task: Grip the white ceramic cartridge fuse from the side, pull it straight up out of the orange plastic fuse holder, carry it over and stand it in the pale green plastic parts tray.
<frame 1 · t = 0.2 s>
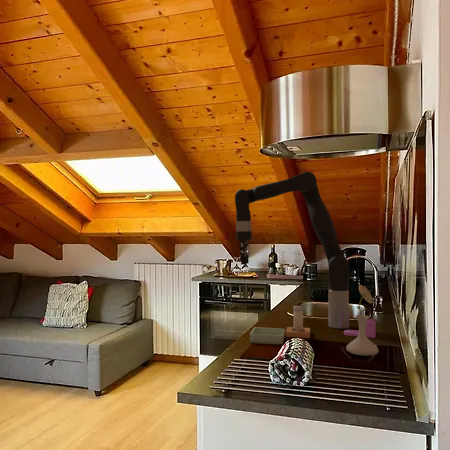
hand: (244, 264, 220), 28 cm above the table, tool pointing down, fingers open, 8 cm apart
blown fuse: (298, 320, 196), in the fuse holder
flower in vase: (361, 353, 167), on the table
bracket: (359, 335, 196), on the table
fuse holder: (298, 334, 196), on the table
parts tray: (267, 339, 186), on the table
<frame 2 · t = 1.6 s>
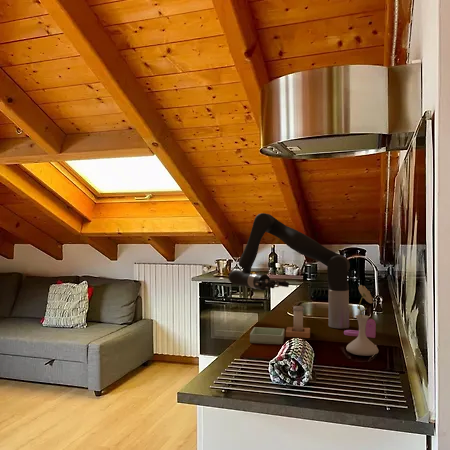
hand: (281, 285, 205), 20 cm above the table, tool horizontal, fingers open, 8 cm apart
nothing on the table moved.
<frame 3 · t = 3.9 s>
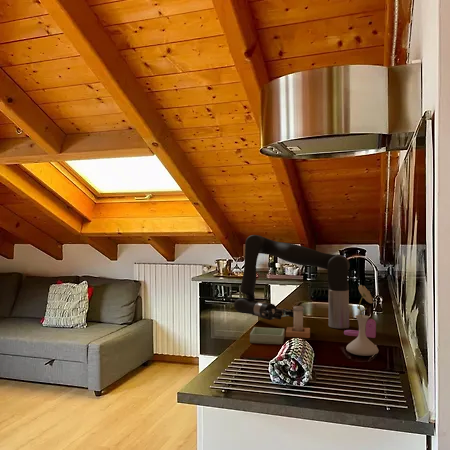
hand: (288, 315, 201), 7 cm above the table, tool horizontal, fingers open, 8 cm apart
nothing on the table moved.
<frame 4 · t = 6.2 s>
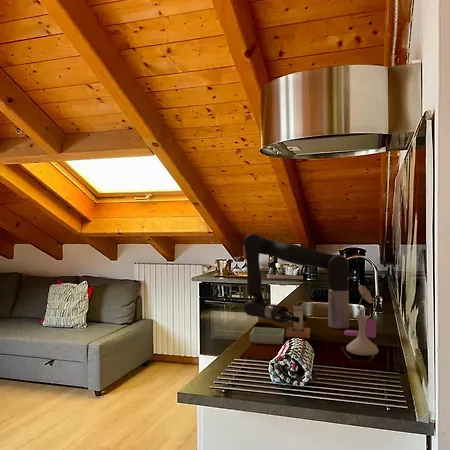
hand: (302, 319, 194), 7 cm above the table, tool horizontal, fingers closed on blown fuse, 4 cm apart
blown fuse: (298, 320, 196), in the fuse holder, touching gripper
everything else where it was.
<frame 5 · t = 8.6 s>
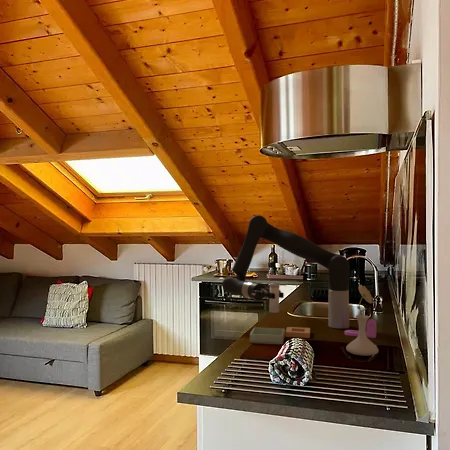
hand: (278, 295, 187), 18 cm above the table, tool horizontal, fingers closed on blown fuse, 4 cm apart
blown fuse: (274, 297, 189), point 17 cm above the table, touching gripper
everything else where it was.
when the fingers open (9 cm above the table, at t = 10.9 s): blown fuse drops 1 cm, resting on parts tray.
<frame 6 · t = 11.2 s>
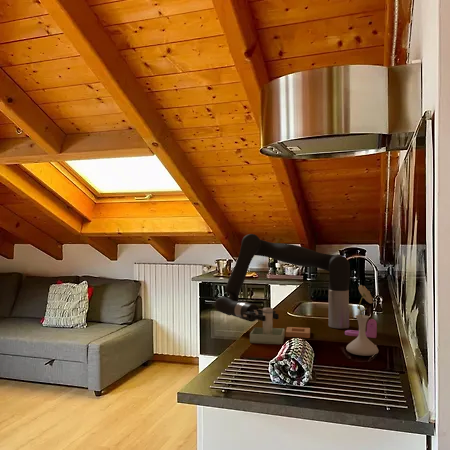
hand: (271, 317, 184), 10 cm above the table, tool horizontal, fingers open, 6 cm apart
blown fuse: (267, 323, 186), in the parts tray, point 7 cm above the table
everything else where it was.
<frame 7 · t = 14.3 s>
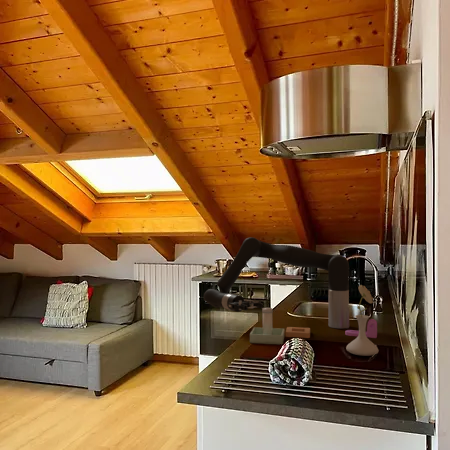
hand: (254, 307, 197), 12 cm above the table, tool horizontal, fingers open, 8 cm apart
nothing on the table moved.
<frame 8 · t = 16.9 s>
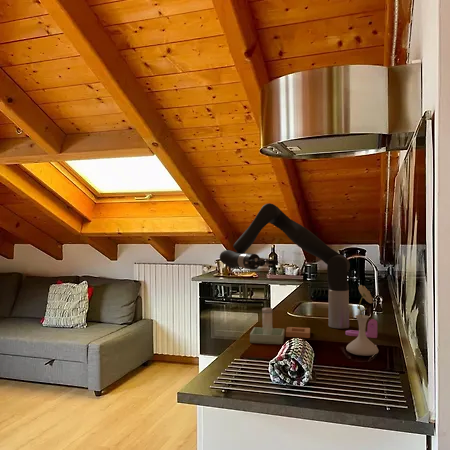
hand: (270, 263, 205), 30 cm above the table, tool horizontal, fingers open, 8 cm apart
nothing on the table moved.
at the end: blown fuse inside the target area on the parts tray (0.1 cm from its centre), point 6.8 cm above the parts tray's base; the gripper is holding nothing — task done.
